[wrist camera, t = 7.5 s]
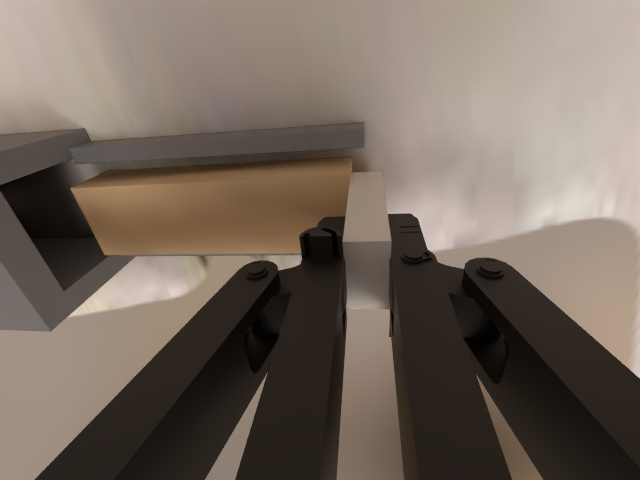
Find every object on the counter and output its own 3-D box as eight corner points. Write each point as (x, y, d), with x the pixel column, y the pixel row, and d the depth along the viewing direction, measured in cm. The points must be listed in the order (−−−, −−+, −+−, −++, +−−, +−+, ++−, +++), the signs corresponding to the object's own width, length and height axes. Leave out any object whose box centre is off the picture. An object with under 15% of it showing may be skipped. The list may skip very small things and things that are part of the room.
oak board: (111, 169, 18) (70, 188, 16) (352, 155, 16) (349, 175, 14) (137, 229, 20) (104, 254, 18) (354, 224, 18) (352, 252, 16)
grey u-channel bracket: (-64, 139, 19) (-266, 181, 13) (363, 106, 15) (361, 143, 9) (14, 253, 23) (-112, 325, 17) (366, 250, 19) (366, 342, 13)
